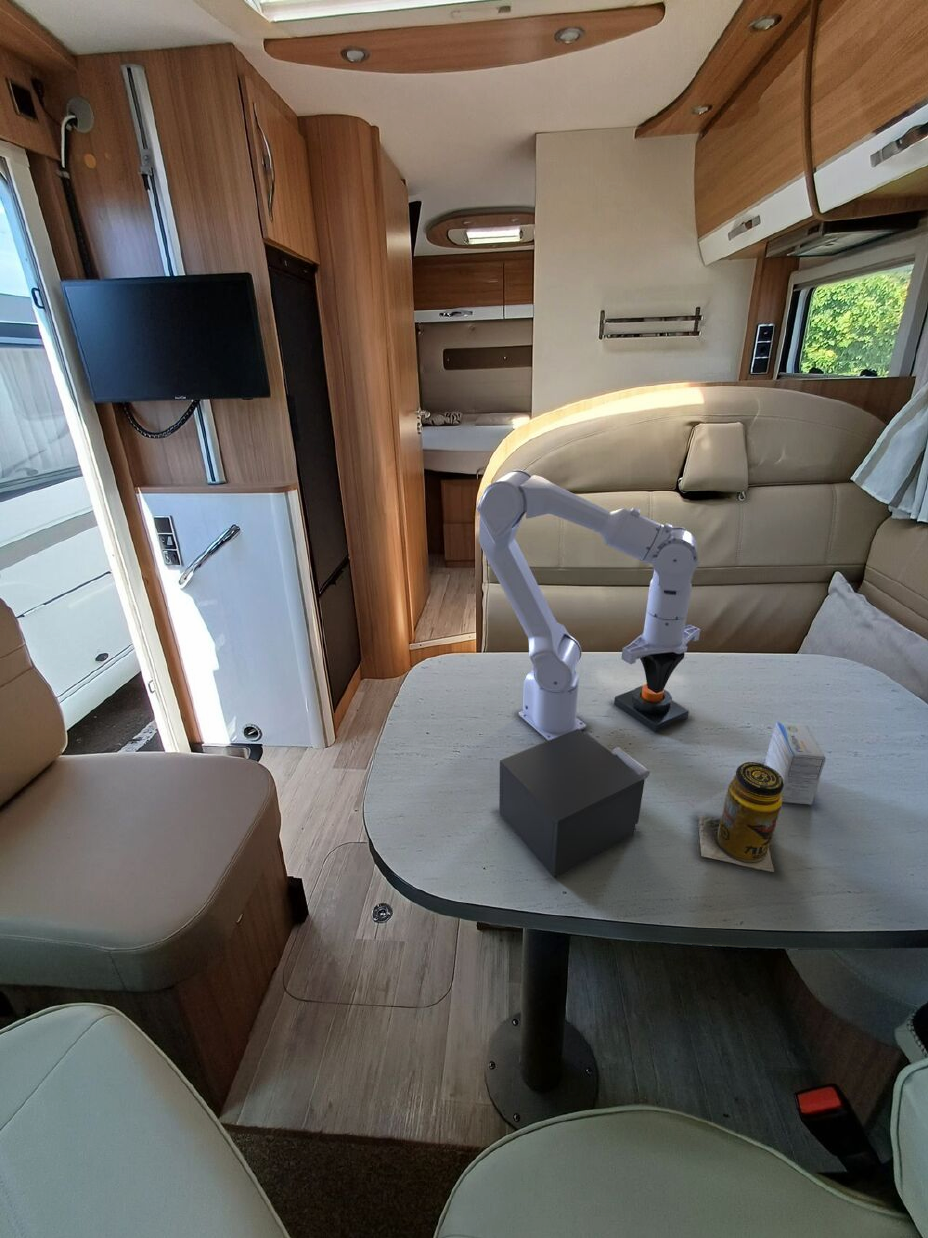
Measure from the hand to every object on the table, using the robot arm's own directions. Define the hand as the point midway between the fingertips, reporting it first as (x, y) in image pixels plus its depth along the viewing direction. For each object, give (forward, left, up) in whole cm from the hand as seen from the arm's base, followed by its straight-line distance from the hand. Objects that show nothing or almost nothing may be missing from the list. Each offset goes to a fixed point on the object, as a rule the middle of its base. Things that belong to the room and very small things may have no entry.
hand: (654, 689), depth 88 cm
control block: (-6, +7, -10) cm, 14 cm away
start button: (-6, +7, -7) cm, 12 cm away
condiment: (+21, -6, -11) cm, 24 cm away
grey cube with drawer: (+7, -23, -10) cm, 26 cm away
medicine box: (+18, +10, -11) cm, 23 cm away
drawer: (+7, -19, -9) cm, 22 cm away
